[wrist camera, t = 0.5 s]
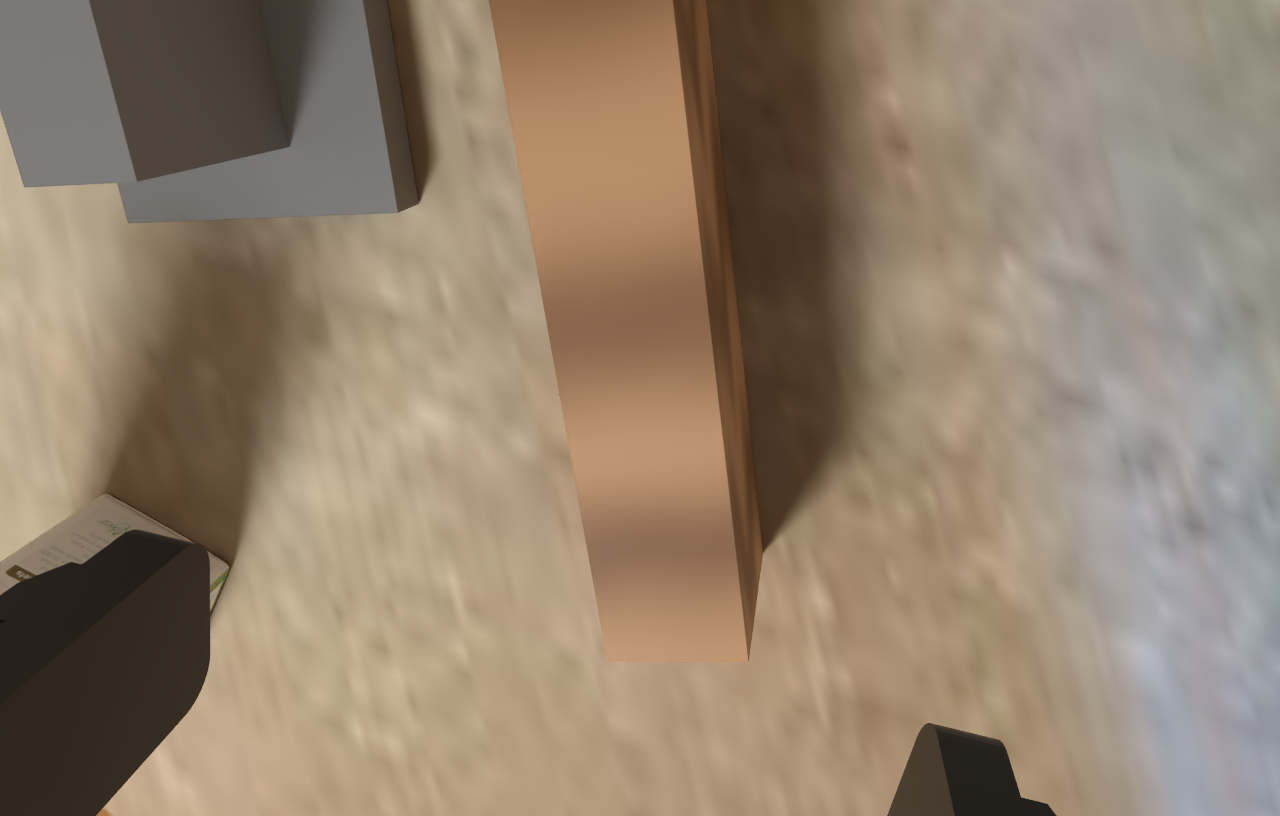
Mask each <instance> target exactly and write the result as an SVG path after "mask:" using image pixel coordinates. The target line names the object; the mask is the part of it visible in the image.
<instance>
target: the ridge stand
mask: <svg viewBox="0 0 1280 816" xmlns="http://www.w3.org/2000/svg"><path fill="white" fill-rule="evenodd" d="M0 111H1V114H2V117H3V120H4V124H5V127H6V130H7V133H8V136H9V140H10V143H11V146H12V149H13V153H14V156H15V159H16V162H17V166H18V169H19V172H20V175H21V178H22V182H23V185H24V187H42V186H63V185H83V184H104V183H117V184H118V188H119V191H120V195H121V199H122V202H123V206H124V210H125V213H126V217H127V221H128V223H147V222H173V221H199V220H225V219H250V218H276V217H302V216H328V215H354V214H379V213H398V212H401V211H403V210H405V209H408V208H410V207H412V206H415V205H417V204H419V202H418V196H417V189H416V183H415V176H414V170H413V164H412V157H411V151H410V144H409V138H408V132H407V125H406V119H405V113H404V106H403V100H402V93H401V87H400V81H399V74H398V68H397V61H396V55H395V49H394V42H393V36H392V29H391V23H390V17H389V10H388V4H387V0H0Z"/></svg>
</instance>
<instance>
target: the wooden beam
mask: <svg viewBox="0 0 1280 816" xmlns="http://www.w3.org/2000/svg"><path fill="white" fill-rule="evenodd" d="M489 3H490V9H491V14H492V20H493V26H494V31H495V37H496V42H497V48H498V53H499V59H500V65H501V70H502V76H503V81H504V87H505V92H506V98H507V104H508V109H509V115H510V120H511V126H512V132H513V137H514V143H515V148H516V154H517V159H518V165H519V171H520V176H521V182H522V187H523V193H524V198H525V204H526V210H527V215H528V221H529V226H530V232H531V237H532V243H533V249H534V254H535V260H536V265H537V271H538V277H539V282H540V288H541V293H542V299H543V304H544V310H545V316H546V321H547V327H548V332H549V338H550V343H551V349H552V355H553V360H554V366H555V371H556V377H557V382H558V388H559V394H560V399H561V405H562V410H563V416H564V422H565V427H566V433H567V438H568V444H569V449H570V455H571V461H572V466H573V472H574V477H575V483H576V488H577V494H578V500H579V505H580V511H581V516H582V522H583V528H584V533H585V539H586V544H587V550H588V555H589V561H590V567H591V572H592V578H593V583H594V589H595V594H596V600H597V606H598V611H599V617H600V622H601V628H602V633H603V639H604V645H605V650H606V656H607V661H608V662H749V654H750V647H751V639H752V632H753V624H754V617H755V609H756V601H757V594H758V586H759V579H760V571H761V564H762V556H763V550H762V540H761V530H760V520H759V511H758V501H757V491H756V482H755V472H754V462H753V452H752V443H751V433H750V423H749V413H748V404H747V394H746V384H745V374H744V365H743V355H742V345H741V335H740V326H739V316H738V306H737V296H736V287H735V277H734V267H733V258H732V248H731V238H730V228H729V219H728V209H727V199H726V189H725V180H724V170H723V160H722V150H721V141H720V131H719V121H718V111H717V102H716V92H715V82H714V73H713V63H712V53H711V43H710V34H709V24H708V14H707V4H706V0H489Z"/></svg>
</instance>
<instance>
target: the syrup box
mask: <svg viewBox="0 0 1280 816" xmlns="http://www.w3.org/2000/svg"><path fill="white" fill-rule="evenodd" d="M135 529H137V530H143V531H147V532H151V533H155V534H159V535H163V536H167V537H171V538H176V539H180V540H184V541H188V542H192V541H190V540H189V539H187V538H185V537H184V536H182V535H180V534H178V533H176V532H175V531H173V530H172V529H170V528H168V527H166V526H164V525H162V524H161V523H159V522H157V521H155V520H154V519H152V518H150V517H148V516H147V515H145V514H143V513H141V512H139V511H138V510H136V509H134V508H132V507H130V506H129V505H127V504H125V503H123V502H122V501H120V500H118V499H116V498H114V497H112V496H111V495H109V494H104V495H101V496H99V497H98V498H96V499H95V500H93V501H92V502H90V503H89V504H87V505H86V506H84V507H83V508H81V509H80V510H78V511H77V512H75V513H74V514H72V515H71V516H69V517H68V518H66V519H65V520H63V521H62V522H60V523H59V524H57V525H56V526H54V527H52V528H51V529H50V530H48V531H47V532H45V533H43V534H42V535H40V536H39V537H37V538H36V539H34V540H33V541H31V542H30V543H28V544H27V545H25V546H24V547H22V548H21V549H19V550H18V551H16V552H15V553H13V554H12V555H10V556H9V557H7V558H6V559H4V560H3V561H1V562H0V595H1V594H3V593H4V592H5V591H7V590H8V589H10V588H11V587H12V586H14V585H15V584H17V583H19V582H21V581H24V580H26V579H29V578H31V577H34V576H36V575H39V574H42V573H44V572H47V571H49V570H52V569H54V568H57V567H59V566H62V565H64V564H67V563H70V562H74V563H78V564H83V563H84V562H86V561H87V560H88V559H90V558H91V557H92V556H94V555H95V554H96V553H98V552H99V551H101V550H102V549H103V548H105V547H106V546H107V545H109V544H110V543H111V542H113V541H114V540H115V539H117V538H118V537H119V536H121V535H122V534H124V533H125V532H128V531H130V530H135ZM192 543H194V542H192ZM207 552H208V551H207ZM208 555H209V560H210V614H211V612H212V609H213V607H214V605H215V602H216V600H217V597H218V595H219V593H220V590H221V588H222V586H223V583H224V581H225V579H226V576H227V574H228V571H229V566H228V564H227V563H225V562H224V561H222V560H221V559H219V558H218V557H216V556H214V555H213V554H211V553H210V552H208Z"/></svg>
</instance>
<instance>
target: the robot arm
mask: <svg viewBox="0 0 1280 816" xmlns="http://www.w3.org/2000/svg"><path fill="white" fill-rule="evenodd" d="M209 661H210V560H209V555H208V552H207V550H206V549H205V547H204V546H202V545H200V544H196V543H192V542H188V541H184V540H180V539H176V538H171V537H167V536H163V535H159V534H155V533H151V532H147V531H143V530H137V529H135V530H130V531H128V532H125V533H124V534H122V535H121V536H119V537H118V538H117V539H115V540H114V541H113V542H111V543H110V544H109V545H107V546H106V547H105V548H103V549H102V550H101V551H99V552H98V553H96V554H95V555H94V556H92V557H91V558H90V559H88V560H87V561H86V562H84V563H83V564H78V563H74V562H70V563H67V564H64V565H62V566H59V567H57V568H54V569H52V570H49V571H47V572H44V573H42V574H39V575H36V576H34V577H31V578H29V579H26V580H24V581H21V582H19V583H17V584H15V585H14V586H12V587H11V588H10V589H8V590H7V591H5V592H4V593H3V594H1V595H0V816H96V815H97V814H98V813H99V812H100V810H101V809H102V808H103V807H104V806H105V805H106V804H107V803H108V802H109V800H110V799H111V798H112V797H113V796H114V795H115V794H116V793H117V791H118V790H119V789H120V788H121V787H122V786H123V785H124V784H125V782H126V781H127V780H128V779H129V778H130V777H131V776H132V775H133V773H134V772H135V771H136V770H137V769H138V768H139V767H140V766H141V764H142V763H143V762H144V761H145V760H146V759H147V758H148V757H149V756H150V754H151V753H152V752H153V751H154V750H155V749H156V748H157V747H158V745H159V744H160V743H161V742H162V741H163V740H164V739H165V738H166V736H167V735H168V734H169V733H170V732H171V731H172V730H173V729H174V727H175V726H176V725H177V724H178V723H179V722H180V721H181V720H182V718H183V717H184V716H185V715H186V714H187V713H188V711H189V710H190V709H191V707H192V706H193V704H194V702H195V701H196V699H197V697H198V695H199V693H200V691H201V689H202V686H203V684H204V681H205V678H206V675H207V671H208V667H209ZM887 816H1056V815H1055V813H1054V812H1053V811H1052V809H1051V808H1050V807H1049V805H1048V804H1045V803H1041V802H1037V801H1033V800H1029V799H1025V798H1021V796H1020V793H1019V789H1018V786H1017V783H1016V780H1015V776H1014V773H1013V770H1012V767H1011V764H1010V760H1009V757H1008V754H1007V751H1006V749H1005V746H1004V745H1003V743H1002V742H1001V741H1000V740H997V739H993V738H989V737H985V736H981V735H977V734H973V733H968V732H964V731H960V730H956V729H952V728H948V727H944V726H940V725H935V724H931V723H927V724H925V725H924V726H923V727H922V729H921V730H920V732H919V734H918V736H917V739H916V741H915V744H914V746H913V749H912V752H911V754H910V757H909V760H908V762H907V765H906V768H905V770H904V773H903V776H902V778H901V781H900V783H899V786H898V789H897V791H896V794H895V797H894V799H893V802H892V805H891V807H890V810H889V813H888V815H887Z"/></svg>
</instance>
